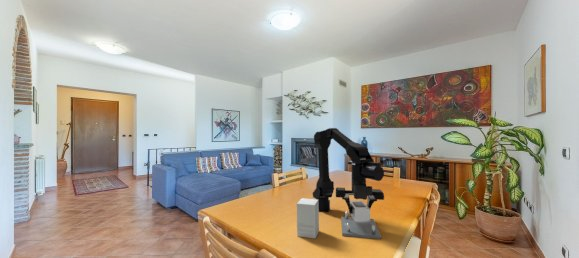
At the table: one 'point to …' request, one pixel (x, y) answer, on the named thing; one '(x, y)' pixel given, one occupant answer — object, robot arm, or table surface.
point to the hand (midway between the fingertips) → (358, 214)
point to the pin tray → (359, 228)
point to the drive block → (360, 211)
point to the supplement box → (308, 218)
